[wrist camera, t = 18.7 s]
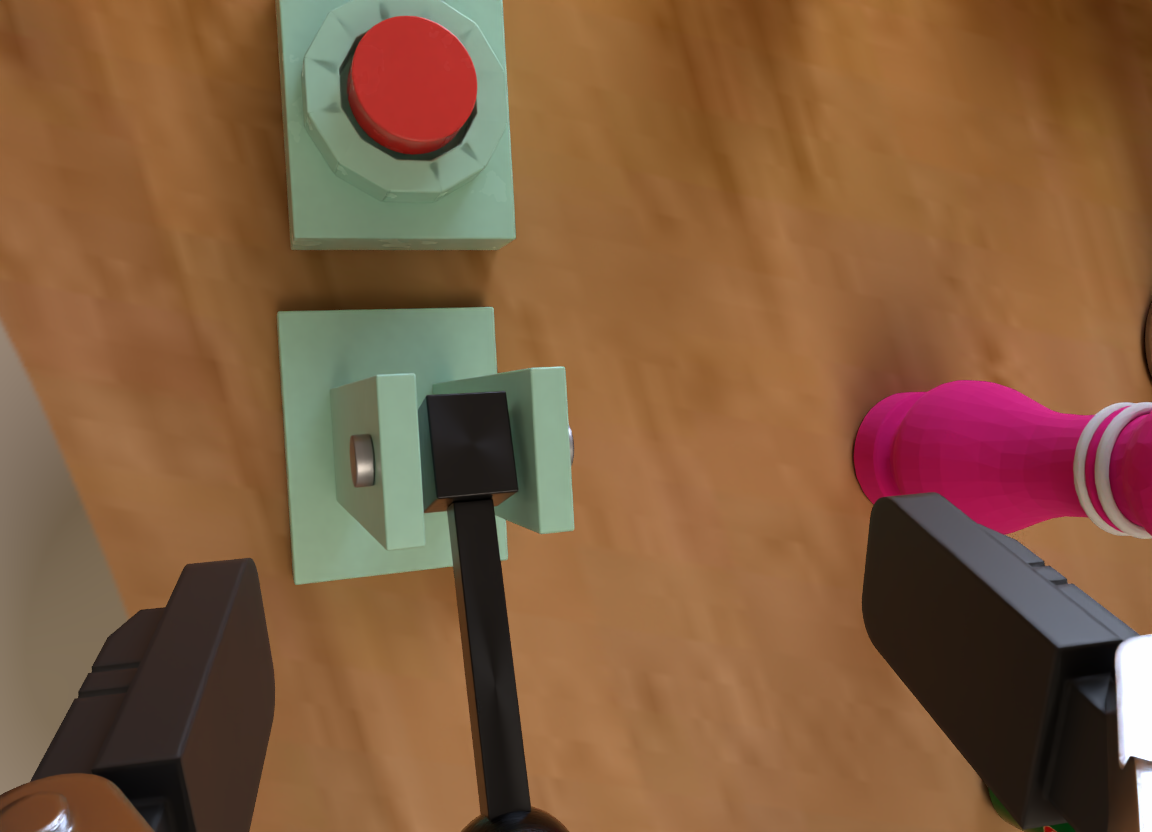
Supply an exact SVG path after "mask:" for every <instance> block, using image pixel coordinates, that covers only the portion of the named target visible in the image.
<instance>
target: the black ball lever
mask: <svg viewBox="0 0 1152 832" xmlns="http://www.w3.org/2000/svg"><path fill="white" fill-rule="evenodd" d="M418 425H419V441H420V458H421V475H422V491H423V508H424V513H433V512H443V511H447V515H448V524H449V533H450V542H451V551H452V560H453V569H454V578H455V587H456V596H457V605H458V614H459V623H460V632H461V641H462V650H463V659H464V668H465V677H466V686H467V695H468V704H469V713H470V722H471V731H472V740H473V749H474V758H475V767H476V776H477V785H478V794H479V803H480V812H481V815H479V816H478V817H476V818H475V819H474V820H472V821H471V822H470V823H469V824H468V825H467V826H466V827H465V828H464V829H463V830H462V831H461V832H569V831H568V830H567V828H566V827H565V826H564V825H563V824H562V823H561V822H560V821H558V820H557V819H556V818H555V817H553V816H552V815H550V814H549V813H547V812H545V811H543V810H541V809H538V808H535V807H532V806H531V804H530V796H529V788H528V779H527V771H526V763H525V755H524V747H523V739H522V731H521V722H520V714H519V706H518V698H517V690H516V682H515V674H514V666H513V657H512V649H511V641H510V633H509V625H508V617H507V609H506V600H505V592H504V584H503V576H502V568H501V560H500V552H499V544H498V535H497V527H496V519H495V511H494V507H495V506H498V505H500V504H501V503H502V502H504V501H505V500H507V499H508V498H509V497H511V496H512V495H514V494H515V493H517V492H518V490H519V488H518V481H517V473H516V465H515V458H514V450H513V442H512V434H511V427H510V419H509V411H508V404H507V396H506V392H505V391H491V392H472V393H453V394H435V395H426V397H425V398H424V400H423V402H422V404H421V405H420V407H419V409H418Z"/></svg>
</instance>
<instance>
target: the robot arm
mask: <svg viewBox="0 0 1152 832" xmlns="http://www.w3.org/2000/svg"><path fill="white" fill-rule="evenodd" d="M1145 347H1146V356H1147V362H1148V366H1149V370H1150V373H1151V377H1152V303H1151V305H1150V309H1149V312H1148V317H1147V322H1146V331H1145ZM862 612H863V619H864V623H865V627H866V630H867V633H868V635H869V638H870V640H871V642H872V643H873V645H874V646H875V648H876V649H877V650H878V652H879V653H880V654H881V655H882V656H883V658H884V659H885V660H886V661H887V663H888V664H889V665H890V666H891V668H892V669H893V670H894V671H895V672H896V674H897V675H898V676H899V677H900V679H901V680H902V681H903V682H904V684H905V685H906V686H907V687H908V689H909V690H910V691H911V692H912V693H913V695H914V696H915V697H916V698H917V700H918V701H919V702H920V703H921V705H922V706H923V707H924V708H925V710H926V711H927V712H928V713H929V714H930V716H931V717H932V718H933V719H934V721H935V722H936V723H937V724H938V726H939V727H940V728H941V729H942V730H943V732H944V733H945V734H946V735H947V737H948V738H949V739H950V740H951V742H952V743H953V744H954V745H955V747H956V748H957V749H958V750H959V751H960V753H961V754H962V755H963V756H964V758H965V759H966V760H967V761H968V763H969V764H970V765H971V766H972V768H973V769H974V770H975V771H976V772H977V774H978V775H979V776H980V777H981V779H982V780H983V781H984V782H985V784H986V785H987V786H988V787H989V788H990V790H991V791H992V792H993V793H994V795H995V796H996V797H997V798H998V800H999V801H1000V802H1001V803H1002V805H1003V806H1004V807H1005V808H1006V809H1007V811H1008V812H1009V813H1010V814H1011V816H1012V817H1013V818H1014V819H1015V821H1016V822H1017V823H1018V824H1019V826H1020V827H1021V828H1022V829H1023V830H1025V829H1031V828H1037V827H1043V826H1050V825H1056V824H1062V823H1069V824H1070V825H1071V826H1072V828H1073V829H1074V830H1075V831H1076V832H1152V635H1142V636H1140V635H1139V634H1138V633H1136V632H1135V631H1134V630H1133V629H1131V628H1130V627H1129V626H1127V625H1126V624H1125V623H1123V622H1122V621H1121V620H1120V619H1118V618H1117V617H1116V616H1114V615H1113V614H1112V613H1110V612H1109V611H1108V610H1107V609H1105V608H1104V607H1103V606H1101V605H1100V604H1099V603H1097V602H1096V601H1095V600H1094V599H1092V598H1091V597H1090V596H1088V595H1087V594H1086V593H1084V592H1083V591H1082V590H1081V589H1079V588H1078V587H1077V586H1075V585H1074V584H1068V583H1067V579H1066V578H1065V577H1064V576H1062V575H1061V574H1060V573H1058V572H1057V571H1056V570H1055V569H1053V568H1052V567H1051V566H1045V565H1044V561H1043V560H1042V559H1040V558H1039V557H1038V556H1036V555H1035V554H1034V553H1032V552H1031V551H1030V550H1029V549H1027V548H1026V547H1025V546H1023V545H1022V544H1021V543H1019V542H1018V541H1017V540H1015V539H1012V538H1010V537H1008V536H1006V535H1003V534H1001V533H999V532H997V531H994V530H992V529H990V528H987V527H985V526H983V525H981V524H977V523H976V522H975V521H973V520H972V519H971V518H970V517H968V516H967V515H966V514H965V513H963V512H962V511H961V510H960V509H958V508H957V507H956V506H955V505H953V504H952V503H951V502H949V501H948V500H947V499H946V498H944V497H943V496H942V495H940V494H939V493H936V492H928V493H918V494H908V495H898V496H888V497H881V498H879V499H878V500H877V501H876V502H875V503H874V506H873V508H872V511H871V517H870V525H869V535H868V545H867V554H866V564H865V574H864V584H863V593H862ZM78 693H79V696H78V698H77V699H74V701H73V703H72V705H71V707H70V709H69V710H68V712H67V714H66V716H65V718H64V720H63V722H62V723H61V725H60V727H59V729H58V731H57V733H56V735H55V737H54V738H53V740H52V742H51V744H50V746H49V748H48V749H47V751H46V753H45V755H44V757H43V759H42V761H41V762H40V764H39V766H38V768H37V770H36V772H35V774H34V775H33V777H32V779H31V781H30V782H29V783H26V784H23V785H21V786H19V787H16V788H14V789H12V790H10V791H7V792H5V793H3V794H2V795H0V832H249V830H250V825H251V821H252V816H253V811H254V807H255V802H256V797H257V792H258V788H259V783H260V778H261V774H262V769H263V764H264V760H265V755H266V750H267V746H268V741H269V736H270V732H271V727H272V722H273V717H274V707H275V680H274V669H273V662H272V656H271V650H270V644H269V638H268V632H267V626H266V620H265V614H264V608H263V602H262V596H261V589H260V583H259V578H258V573H257V569H256V566H255V563H254V561H253V560H252V559H251V558H244V559H234V560H224V561H214V562H204V563H194V564H187V565H186V566H185V567H184V569H183V571H182V573H181V575H180V577H179V579H178V582H177V584H176V586H175V588H174V590H173V592H172V595H171V597H170V599H169V601H168V603H167V605H166V607H164V608H155V609H145V610H140V611H139V612H137V613H136V614H135V615H134V616H133V617H131V618H130V619H129V620H128V621H127V622H126V623H124V624H123V625H122V626H121V627H120V628H119V629H117V630H116V631H115V632H114V633H113V634H111V635H110V636H109V637H108V638H107V640H106V642H105V643H104V645H103V647H102V649H101V651H100V653H99V655H98V657H97V659H96V660H95V662H94V664H93V666H92V673H88V675H87V677H86V679H85V681H84V683H83V684H82V686H81V688H80V690H79V692H78Z"/></svg>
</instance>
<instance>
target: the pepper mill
mask: <svg viewBox="0 0 1152 832" xmlns="http://www.w3.org/2000/svg"><path fill="white" fill-rule="evenodd" d="M854 464H855V471H856V477H857V479H858V481H859V483H860V486H861V488H862V490H863V492H864V493H865V495H866V496H867V497H868V499H869V500H870V501H871V502H872V503H873V504H874V503H875V502H876V501H877V500H878V499H879V498H881V497H888V496H898V495H908V494H918V493H928V492H936V493H939V494H940V495H942V496H943V497H944V498H946V499H947V500H948V501H949V502H951V503H952V504H953V505H955V506H956V507H957V508H958V509H960V510H961V511H962V512H963V513H965V514H966V515H967V516H968V517H970V518H971V519H972V520H973V521H975V522H976V523H977V524H981V525H983V526H985V527H987V528H990V529H992V530H994V531H997V532H999V533H1001V534H1003V535H1005V534H1009V533H1012V532H1016V531H1018V530H1021V529H1024V528H1026V527H1029V526H1031V525H1034V524H1037V523H1039V522H1042V521H1045V520H1048V519H1052V518H1057V517H1064V516H1073V517H1088V518H1090V520H1091V521H1092V522H1093V523H1094V524H1095V525H1097V526H1098V527H1099V528H1101V529H1102V530H1104V531H1106V532H1108V533H1111V534H1114V535H1119V536H1128V535H1130V536H1133V537H1135V538H1140V539H1151V538H1152V402H1143V403H1137V404H1135V403H1128V402H1123V403H1116V404H1113V405H1110V406H1108V407H1106V408H1104V409H1103V410H1101V411H1100V412H1098V413H1097V414H1096V415H1087V416H1085V415H1074V414H1063V413H1058V412H1055V411H1052V410H1050V409H1048V408H1046V407H1044V406H1042V405H1041V404H1039V403H1037V402H1036V401H1034V400H1032V399H1030V398H1029V397H1027V396H1025V395H1023V394H1022V393H1020V392H1018V391H1016V390H1014V389H1011V388H1008V387H1005V386H1002V385H999V384H996V383H991V382H986V381H971V380H959V381H954V382H949V383H945V384H941V385H939V386H937V387H936V388H934V389H932V390H930V391H928V392H906V393H897V394H894V395H891V396H889V397H886V398H885V399H883V400H882V401H880V402H878V403H877V404H876V405H875V406H874V407H873V408H872V409H871V410H870V411H869V412H868V413H867V415H866V416H865V418H864V420H863V422H862V424H861V425H860V427H859V430H858V433H857V437H856V440H855V448H854Z"/></svg>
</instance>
